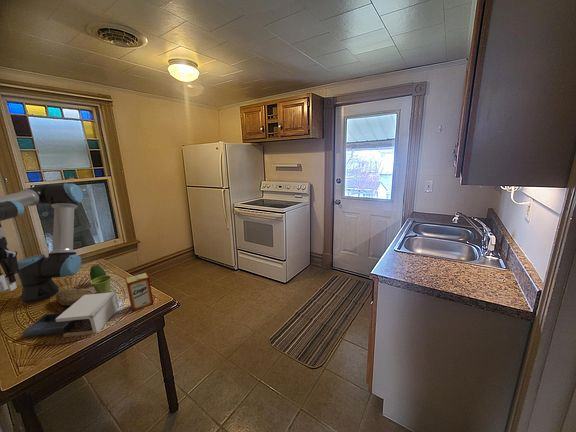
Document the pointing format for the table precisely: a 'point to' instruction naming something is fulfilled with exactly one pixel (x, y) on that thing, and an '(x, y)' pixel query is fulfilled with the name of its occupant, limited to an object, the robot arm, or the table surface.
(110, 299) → the white box
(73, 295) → the sponge
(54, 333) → the tray
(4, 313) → the table surface
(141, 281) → the baking soda box
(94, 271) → the avocado
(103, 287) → the plant pot
